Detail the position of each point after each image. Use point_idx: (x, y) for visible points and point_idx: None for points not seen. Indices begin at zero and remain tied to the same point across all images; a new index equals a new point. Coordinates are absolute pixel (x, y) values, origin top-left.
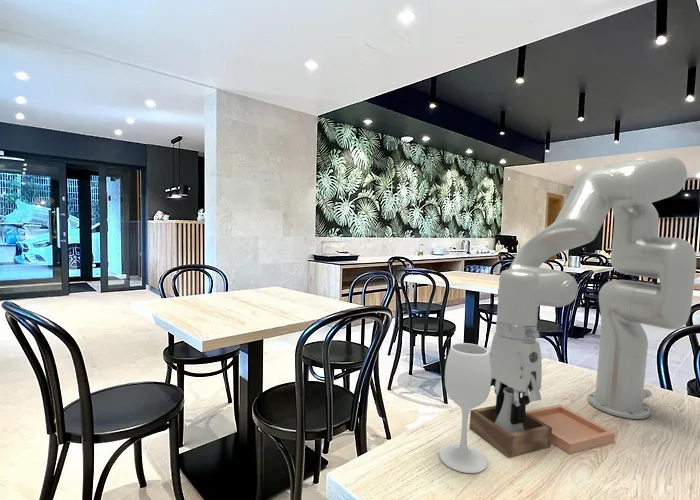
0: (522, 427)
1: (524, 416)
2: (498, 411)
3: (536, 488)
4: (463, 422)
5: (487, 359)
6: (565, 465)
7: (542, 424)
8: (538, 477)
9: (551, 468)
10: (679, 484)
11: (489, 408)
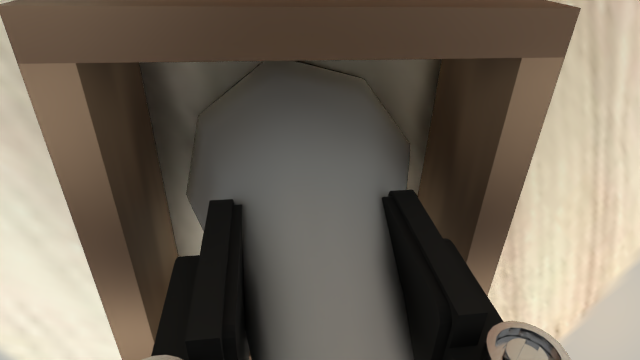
0: (386, 168)
1: (458, 256)
2: None
3: (586, 286)
4: None
5: None
6: (617, 67)
7: (499, 49)
8: (566, 244)
9: (577, 155)
10: None
11: (122, 278)
